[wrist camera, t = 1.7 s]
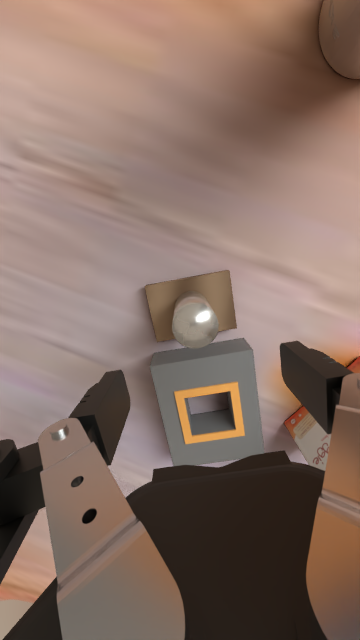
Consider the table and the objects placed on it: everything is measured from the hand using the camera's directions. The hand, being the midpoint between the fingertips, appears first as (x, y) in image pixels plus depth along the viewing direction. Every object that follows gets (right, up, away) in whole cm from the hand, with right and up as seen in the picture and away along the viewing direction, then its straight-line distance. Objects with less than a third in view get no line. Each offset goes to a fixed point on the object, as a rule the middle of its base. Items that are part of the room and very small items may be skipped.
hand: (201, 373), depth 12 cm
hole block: (+3, -8, +21) cm, 22 cm away
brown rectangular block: (0, +5, +17) cm, 18 cm away
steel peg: (0, +4, +16) cm, 16 cm away
